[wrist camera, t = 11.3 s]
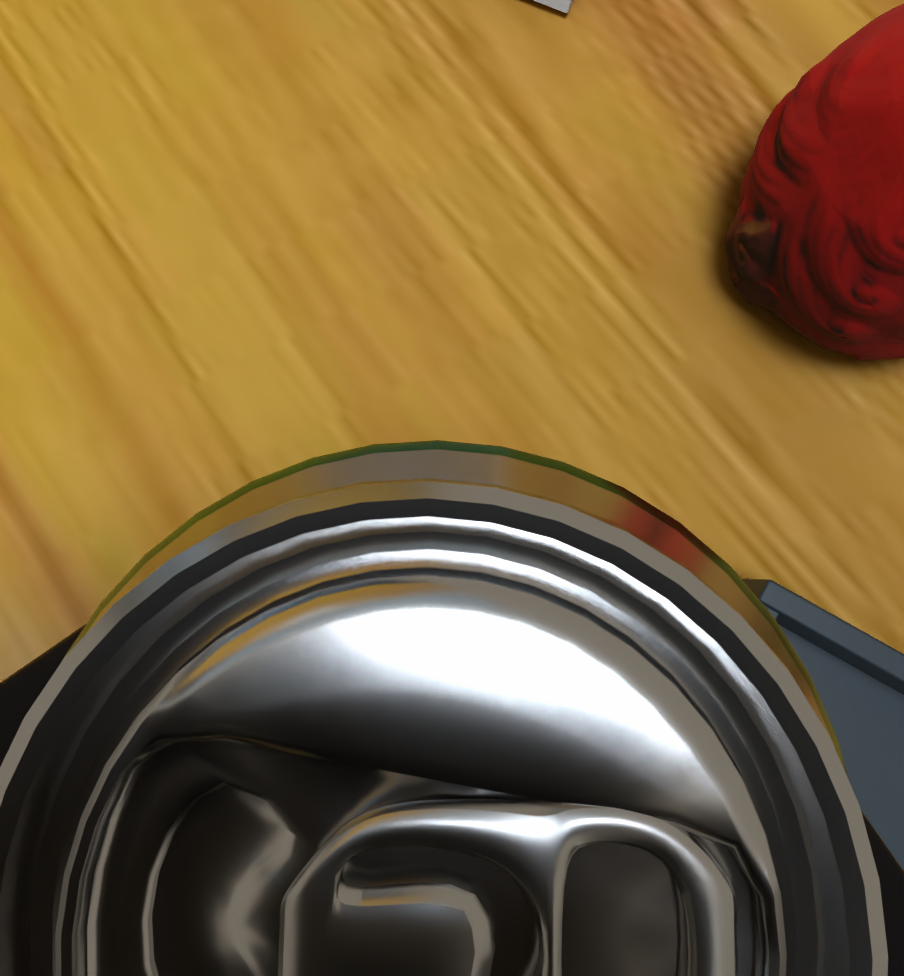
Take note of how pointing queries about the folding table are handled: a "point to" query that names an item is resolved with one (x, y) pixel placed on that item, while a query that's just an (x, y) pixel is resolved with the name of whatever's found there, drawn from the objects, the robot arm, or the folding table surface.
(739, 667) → the soda can
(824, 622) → the tray
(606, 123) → the folding table surface
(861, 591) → the folding table surface
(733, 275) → the red clay folk toy
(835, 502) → the folding table surface
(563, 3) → the corner bead
